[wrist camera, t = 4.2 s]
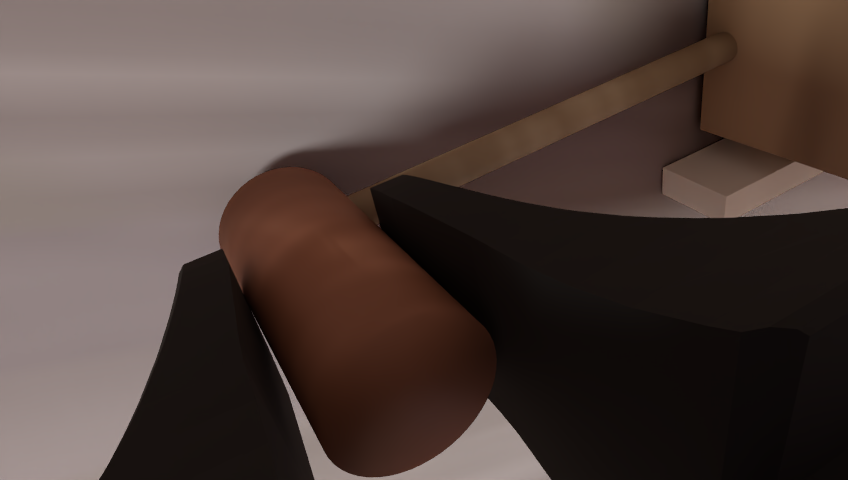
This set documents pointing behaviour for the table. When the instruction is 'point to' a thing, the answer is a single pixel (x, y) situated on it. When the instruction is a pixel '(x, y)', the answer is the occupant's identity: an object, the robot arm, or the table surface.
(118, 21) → the table surface
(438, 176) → the tethered block
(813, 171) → the lane rack
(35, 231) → the table surface
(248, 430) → the robot arm
